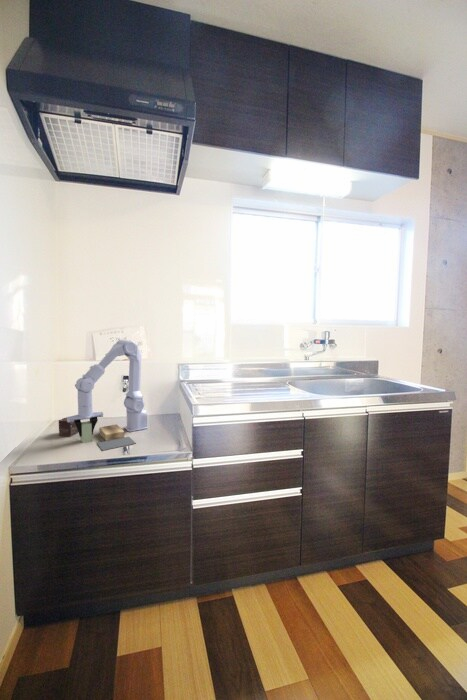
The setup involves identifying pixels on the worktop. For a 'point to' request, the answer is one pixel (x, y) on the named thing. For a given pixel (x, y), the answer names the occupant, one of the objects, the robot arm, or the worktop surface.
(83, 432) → the block
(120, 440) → the mat
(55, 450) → the worktop surface
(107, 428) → the step
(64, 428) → the box
